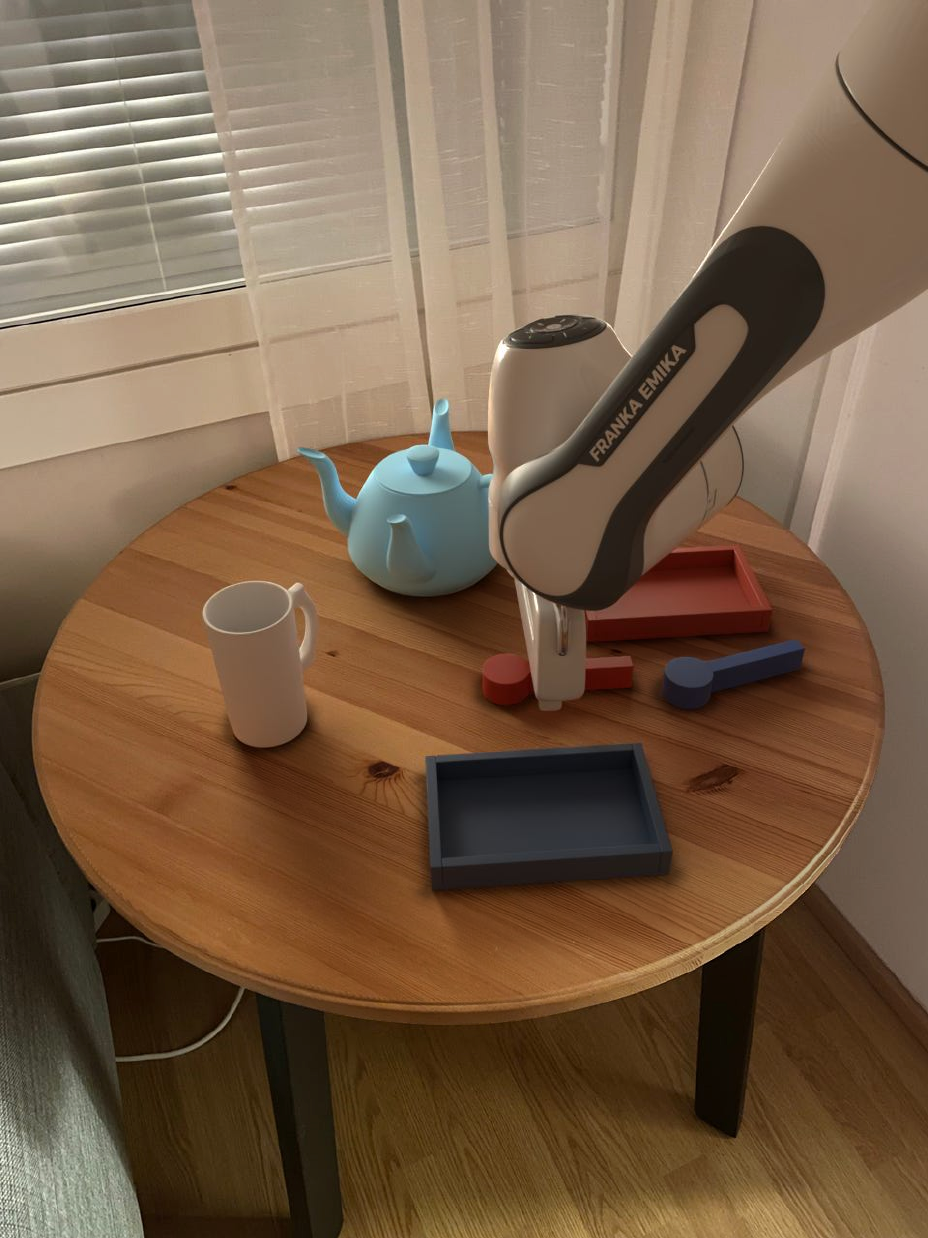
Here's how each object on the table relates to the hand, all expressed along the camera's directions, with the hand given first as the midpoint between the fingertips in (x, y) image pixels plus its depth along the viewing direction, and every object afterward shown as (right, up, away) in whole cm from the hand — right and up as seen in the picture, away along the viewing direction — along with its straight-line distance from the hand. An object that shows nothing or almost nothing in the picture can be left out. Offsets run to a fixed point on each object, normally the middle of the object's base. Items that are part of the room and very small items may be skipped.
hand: (541, 666), depth 85 cm
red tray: (+12, +6, +10) cm, 17 cm away
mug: (-22, -4, 0) cm, 22 cm away
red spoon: (+1, -2, +1) cm, 3 cm away
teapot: (-11, +10, +18) cm, 23 cm away
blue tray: (-1, -11, -11) cm, 15 cm away
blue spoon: (+16, -1, +1) cm, 16 cm away
